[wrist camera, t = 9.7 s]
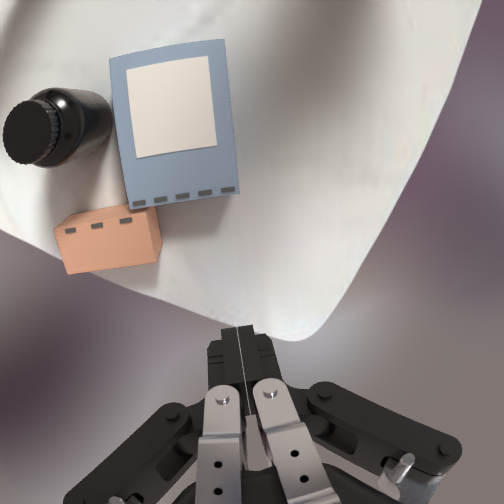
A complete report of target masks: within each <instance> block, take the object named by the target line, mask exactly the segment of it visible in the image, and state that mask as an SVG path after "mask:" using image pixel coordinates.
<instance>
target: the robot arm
mask: <svg viewBox="0 0 504 504" xmlns="http://www.w3.org/2000/svg"><path fill="white" fill-rule="evenodd" d="M238 334H239V340H240V347H241V353H242V360H243V366H244V373H245V379H246V386H247V392H248V398H249V404H250V410H251V415H254V414H256V418H257V424H258V430H259V433H260V436H261V440H262V444H263V447H264V451H265V454H266V457H267V461H268V465H269V468H266V469H264V470H261V471H249V468H248V453H247V434H246V417H245V416H247V415H250V413H249V408H248V401H247V395H246V388H245V381H244V376H243V368H242V362H241V356H240V349H239V343H238V336H237V330H236V327H233V328H225V329H221V336H222V340H216V341H211V343H210V345H209V347H208V348H207V356H208V385H209V389H208V392H207V394H206V396H205V398H204V399H203V400H202V401H200V402H199V403H196V404H194V405H191V406H188V407H185V406H184V405H182V404H180V403H175V402H174V403H168V404H165V405H163V406H162V407H160V408H159V409H158V410H157V411H156V412H155V413H154V414H153V415H152V416H151V417H150V418H149V419H148V420H147V421H146V422H145V423H144V424H143V425H142V426H141V427H139V428H138V429H137V430H136V431H135V432H134V433H133V434H132V435H131V436H130V437H129V438H128V439H127V440H126V441H124V442H123V443H122V444H121V445H120V446H119V447H118V448H117V449H116V450H115V451H114V452H113V453H112V454H111V455H110V456H108V457H107V458H106V459H105V460H104V461H103V462H102V463H101V464H99V465H98V466H97V467H96V468H95V469H94V470H93V471H92V472H90V473H89V474H88V475H87V476H86V477H85V478H84V479H83V480H82V481H80V482H79V483H78V484H77V485H76V486H75V487H74V488H72V490H70V491H69V492H68V493H67V494H66V495H65V497H64V500H63V504H156V503H157V502H158V501H159V500H160V499H161V498H162V497H163V496H164V495H165V493H167V492H168V490H169V489H170V488H171V487H172V486H173V485H174V484H175V483H176V482H177V481H178V480H179V479H180V477H181V476H182V475H183V474H184V473H185V472H186V471H187V470H188V469H189V468H190V466H191V465H192V464H193V463H194V462H195V461H196V460H197V475H196V482H194V483H192V484H191V485H189V486H188V487H187V488H186V489H184V490H183V491H182V492H181V494H180V495H179V496H178V497H177V498H176V500H175V501H174V502H173V503H172V504H428V502H429V501H430V499H431V497H432V495H433V494H434V492H435V490H436V488H437V486H438V485H439V483H440V480H441V479H442V478H443V477H444V476H445V474H447V472H448V471H449V470H450V469H451V468H452V467H453V466H454V465H455V463H456V462H457V461H458V460H459V458H460V457H461V454H462V446H461V444H460V442H459V441H458V440H457V439H456V438H455V437H453V436H450V435H448V434H445V433H443V432H440V431H438V430H435V429H433V428H430V427H428V426H426V425H423V424H421V423H418V422H416V421H414V420H411V419H409V418H407V417H405V416H402V415H400V414H397V413H395V412H393V411H391V410H389V409H387V408H384V407H382V406H380V405H378V404H376V403H374V402H371V401H369V400H367V399H365V398H363V397H361V396H359V395H357V394H355V393H352V392H350V391H348V390H346V389H344V388H342V387H340V386H338V385H336V384H334V383H332V382H318V383H316V384H314V385H313V386H311V387H310V389H297V388H293V387H290V386H289V385H287V384H286V383H285V382H284V381H283V379H282V376H281V372H280V369H279V366H278V362H277V358H276V355H275V351H274V347H273V344H272V340H271V339H270V338H269V337H268V336H267V335H266V334H258V335H255V334H254V329H253V325H246V326H239V327H238ZM312 440H313V441H314V442H316V443H318V444H319V445H321V446H323V447H325V448H326V449H328V450H330V451H332V452H333V453H335V454H337V455H339V456H341V457H342V458H344V459H346V460H348V461H350V462H352V463H354V464H356V465H357V466H360V467H361V468H364V469H365V470H367V471H369V472H371V473H373V474H375V475H377V476H378V484H379V487H380V488H381V489H382V490H383V491H384V492H386V493H387V494H388V495H389V496H390V497H389V496H388V495H386V494H384V493H382V492H380V491H378V490H376V489H374V488H373V487H371V486H369V485H367V484H365V483H363V482H362V481H360V480H358V479H356V478H355V477H353V476H351V475H350V474H348V473H346V472H345V471H343V470H341V469H339V468H337V467H335V466H332V465H329V464H325V463H322V462H321V460H320V458H319V455H318V453H317V450H316V448H315V446H314V443H313V441H312Z"/></svg>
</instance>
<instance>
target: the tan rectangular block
mask: <svg viewBox="0 0 504 504" xmlns="http://www.w3.org/2000/svg"><path fill="white" fill-rule="evenodd" d="M54 233H55V237H56V240H57V243H58V247H59V250H60V253H61V256H62V259H63V262H64V265H65V268H66V271H67V274H74V273H75V274H76V273H82V272H90V271H97V270H105V269H112V268H119V267H126V266H134V265H141V264H148V263H155V262H157V259H158V256H159V253H160V250H161V247H162V244H163V243H162V238H161V233H160V228H159V223H158V218H157V213H156V208H155V206H149V207H143V208H137V209H131V210H130V207H129V204H124V205H118V206H113V207H108V208H102V209H97V210H92V211H87V212H82V213H77V214H73V215H70V216H69V217H68V218H67V219H65V220H64V221H63V222H62V223H61V224H59V225H58V226H57V227H56V228H55V229H54Z"/></svg>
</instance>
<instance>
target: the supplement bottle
mask: <svg viewBox="0 0 504 504" xmlns="http://www.w3.org/2000/svg"><path fill="white" fill-rule="evenodd" d="M111 126H112V113H111V109H110V107H109V105H108V103H107V101H106V100H105V99H104V98H103V97H102V96H100V95H99V94H97V93H95V92H91V91H85V90H76V89H67V88H48V89H45V90H42V91H40V92H38V93H37V94H35V95H34V96H33V97H31V98H30V99H29V100H27V101H23V102H22V103H19V104H18V105H17V106H16V107H14V108H13V110H12V111H10V113H9V115H8V116H7V119H6V121H5V124H4V128H3V142H4V147H5V149H6V152H7V153H8V155H9V157H11V159H12V160H15V162H16V163H20V164H25V165H27V164H33V165H35V166H37V167H40V168H54V167H57V166H60V165H63V164H65V163H67V162H69V161H72V160H74V159H77V158H79V157H81V156H84V155H86V154H89V153H91V152H93V151H95V150H96V149H98V148H99V147H100V146H101V145H102V144H103V143H104V142H105V140H106V139H107V137H108V135H109V133H110V130H111Z"/></svg>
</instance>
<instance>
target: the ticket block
mask: <svg viewBox="0 0 504 504" xmlns="http://www.w3.org/2000/svg"><path fill="white" fill-rule="evenodd" d="M109 66H110V78H111V89H112V99H113V108H114V116H115V124H116V131H117V138H118V145H119V152H120V158H121V164H122V170H123V175H124V181H125V186H126V192H127V197H128V202H129V207H130V210H131V209H137V208H143V207H149V206H155V205H162V204H168V203H175V202H181V201H188V200H195V199H202V198H210V197H217V196H225V195H233V194H240V191H239V181H238V171H237V162H236V152H235V142H234V132H233V122H232V112H231V102H230V92H229V81H228V71H227V61H226V50H225V40H224V39H215V40H206V41H198V42H190V43H183V44H177V45H171V46H165V47H159V48H154V49H149V50H144V51H139V52H135V53H131V54H126V55H122V56H118V57H114V58H111V59H109Z"/></svg>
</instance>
